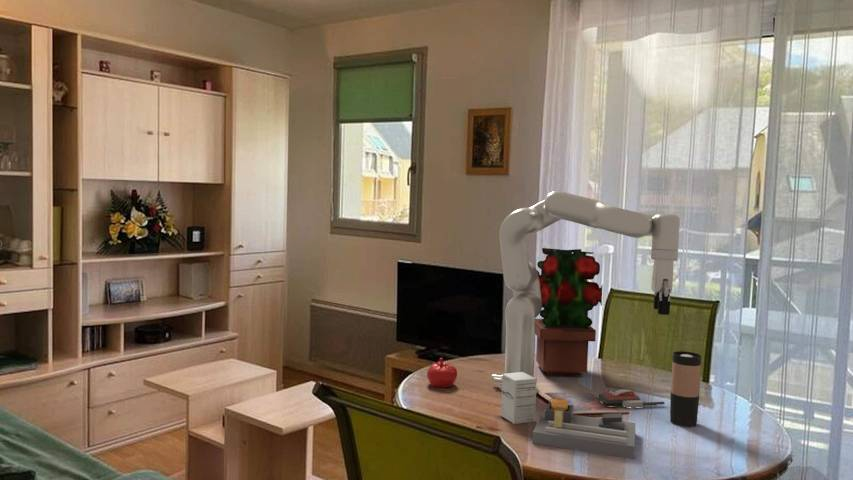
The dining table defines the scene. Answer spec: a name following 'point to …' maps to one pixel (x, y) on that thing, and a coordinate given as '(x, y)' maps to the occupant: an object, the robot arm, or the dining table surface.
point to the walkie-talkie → (623, 399)
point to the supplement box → (518, 397)
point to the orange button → (559, 403)
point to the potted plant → (566, 311)
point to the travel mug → (685, 388)
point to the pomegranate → (442, 374)
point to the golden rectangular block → (559, 417)
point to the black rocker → (612, 417)
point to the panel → (585, 434)
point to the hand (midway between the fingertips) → (661, 311)
